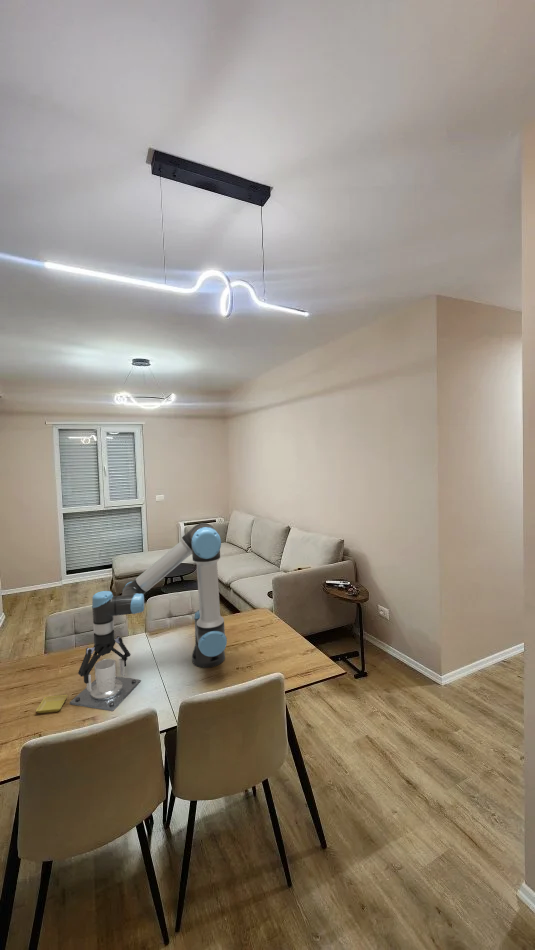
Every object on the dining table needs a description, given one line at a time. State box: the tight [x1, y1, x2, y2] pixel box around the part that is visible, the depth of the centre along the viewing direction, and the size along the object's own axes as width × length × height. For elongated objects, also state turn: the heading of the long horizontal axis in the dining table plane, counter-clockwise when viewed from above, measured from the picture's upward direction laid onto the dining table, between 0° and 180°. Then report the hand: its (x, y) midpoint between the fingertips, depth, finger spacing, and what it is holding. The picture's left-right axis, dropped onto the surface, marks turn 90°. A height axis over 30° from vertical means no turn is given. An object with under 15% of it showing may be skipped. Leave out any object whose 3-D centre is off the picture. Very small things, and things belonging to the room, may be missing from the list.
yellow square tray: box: [35, 694, 68, 714], centre depth 150 cm, size 9×9×2 cm
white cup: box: [94, 658, 117, 693], centre depth 157 cm, size 8×8×10 cm
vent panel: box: [69, 676, 142, 712], centre depth 158 cm, size 19×19×2 cm
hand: (106, 682), depth 158 cm, fingers open, 13 cm apart
